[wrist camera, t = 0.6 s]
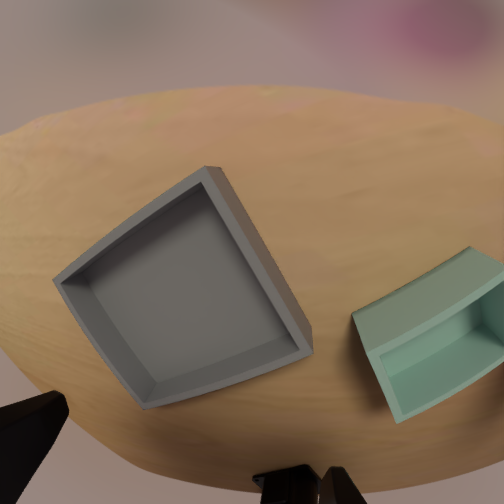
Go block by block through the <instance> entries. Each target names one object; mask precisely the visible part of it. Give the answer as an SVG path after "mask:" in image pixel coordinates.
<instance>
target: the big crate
mask: <svg viewBox="0 0 504 504" xmlns="http://www.w3.org/2000/svg"><path fill="white" fill-rule="evenodd" d="M53 282H54V284H55V286H56V287H57V289H58V291H59V293H60V294H61V296H62V298H63V300H64V301H65V303H66V305H67V306H68V308H69V310H70V311H71V313H72V314H73V316H74V318H75V319H76V321H77V322H78V324H79V326H80V327H81V329H82V330H83V332H84V333H85V335H86V336H87V338H88V339H89V341H90V342H91V343H92V345H93V346H94V348H95V349H96V351H97V352H98V353H99V355H100V356H101V358H102V359H103V360H104V362H105V363H106V364H107V366H108V367H109V368H110V370H111V371H112V372H113V374H114V375H115V376H116V378H117V379H118V380H119V381H120V383H121V384H122V385H123V386H124V388H125V389H126V390H127V391H128V392H129V394H130V395H131V396H132V397H133V398H134V400H135V401H136V402H137V403H138V404H139V405H140V407H141V408H142V409H143V410H146V409H150V408H154V407H158V406H162V405H166V404H170V403H174V402H177V401H181V400H184V399H188V398H191V397H195V396H198V395H202V394H205V393H208V392H211V391H214V390H218V389H221V388H224V387H227V386H230V385H233V384H236V383H239V382H242V381H244V380H247V379H250V378H253V377H256V376H258V375H261V374H264V373H267V372H269V371H272V370H274V369H277V368H280V367H282V366H285V365H287V364H290V363H292V362H295V361H297V360H300V359H302V358H304V357H307V356H309V355H312V354H314V353H313V340H312V328H311V325H310V323H309V322H308V320H307V318H306V316H305V314H304V313H303V311H302V309H301V307H300V305H299V304H298V302H297V300H296V298H295V297H294V295H293V293H292V291H291V289H290V288H289V286H288V284H287V282H286V281H285V279H284V277H283V275H282V273H281V272H280V270H279V268H278V266H277V265H276V263H275V261H274V259H273V258H272V256H271V254H270V252H269V251H268V249H267V247H266V245H265V244H264V242H263V240H262V238H261V237H260V235H259V233H258V231H257V230H256V228H255V226H254V224H253V223H252V221H251V219H250V217H249V216H248V214H247V212H246V210H245V209H244V207H243V205H242V204H241V202H240V200H239V198H238V197H237V195H236V193H235V191H234V190H233V188H232V186H231V185H230V183H229V181H228V179H227V178H226V176H225V174H224V173H223V171H222V169H221V167H213V166H204V167H202V168H200V169H199V170H197V171H196V172H194V173H193V174H191V175H190V176H188V177H187V178H185V179H184V180H182V181H181V182H179V183H178V184H176V185H175V186H173V187H172V188H170V189H169V190H167V191H166V192H164V193H163V194H161V195H160V196H159V197H157V198H156V199H154V200H153V201H151V202H150V203H149V204H147V205H146V206H144V207H143V208H142V209H140V210H139V211H138V212H136V213H135V214H133V215H132V216H131V217H129V218H128V219H127V220H125V221H124V222H123V223H121V224H120V225H119V226H117V227H116V228H115V229H113V230H112V231H111V232H110V233H108V234H107V235H106V236H104V237H103V238H102V239H101V240H99V241H98V242H97V243H96V244H94V245H93V246H92V247H91V248H89V249H88V250H87V251H86V252H84V253H83V254H82V255H81V256H80V257H78V258H77V259H76V260H75V261H74V262H72V263H71V264H70V265H69V266H68V267H67V268H65V269H64V270H63V271H62V272H61V273H60V274H58V275H57V276H56V277H55V278H54V279H53Z"/></svg>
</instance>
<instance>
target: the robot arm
mask: <svg viewBox="0 0 504 504" xmlns="http://www.w3.org/2000/svg"><path fill="white" fill-rule="evenodd" d="M68 415H69V408H68V405H67V402H66V398H65V396H64V395H63V394H62V393H60V392H58V391H56V390H53V391H50V392H47V393H44V394H41V395H38V396H35V397H32V398H29V399H26V400H23V401H20V402H16V403H13V404H10V405H7V406H4V407H0V504H16V502H17V501H18V499H19V497H20V496H21V494H22V492H23V491H24V489H25V488H26V486H27V484H28V483H29V481H30V480H31V478H32V476H33V475H34V473H35V472H36V470H37V469H38V467H39V466H40V464H41V463H42V461H43V460H44V458H45V457H46V455H47V454H48V452H49V450H50V449H51V447H52V446H53V444H54V442H55V441H56V439H57V436H58V435H59V433H60V431H61V429H62V427H63V425H64V423H65V421H66V419H67V417H68ZM252 481H253V482H254V483H256V484H257V485H258V486H259V487H260V488H261V489H262V496H261V502H260V504H318V494H320V495H319V504H367V503H366V501H365V500H364V498H363V496H362V495H361V493H360V492H359V490H358V489H357V487H356V486H355V484H354V483H353V481H352V480H351V478H350V477H349V475H348V473H347V472H346V470H345V469H344V468H343V467H337V466H331V467H330V468H329V469H328V471H327V472H326V474H325V476H324V477H323V479H322V480H321V478H320V477H319V476H318V475H317V474H316V473H315V472H314V471H313V470H312V468H311V467H310V466H309V465H301V466H297V467H293V468H289V469H285V470H280V471H276V472H271V473H266V474H261V475H255V476H253V478H252Z"/></svg>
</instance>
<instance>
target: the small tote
mask: <svg viewBox="0 0 504 504" xmlns="http://www.w3.org/2000/svg"><path fill="white" fill-rule="evenodd" d="M352 316H353V318H354V321H355V324H356V326H357V329H358V332H359V335H360V338H361V340H362V343H363V346H364V349H365V352H366V354H367V357H368V359H369V361H370V363H371V365H372V368H373V370H374V372H375V374H376V377H377V379H378V381H379V383H380V386H381V388H382V390H383V393H384V395H385V397H386V400H387V402H388V404H389V407H390V409H391V412H392V414H393V416H394V419H395V421H396V424H398V423H400V422H402V421H404V420H406V419H408V418H410V417H413V416H415V415H417V414H419V413H421V412H423V411H425V410H426V409H428V408H430V407H432V406H434V405H436V404H438V403H440V402H441V401H443V400H445V399H447V398H449V397H450V396H452V395H454V394H455V393H457V392H459V391H460V390H462V389H464V388H465V387H467V386H469V385H470V384H472V383H473V382H475V381H476V380H478V379H479V378H481V377H482V376H484V375H485V374H487V373H488V372H490V371H491V370H493V369H494V368H496V367H497V366H498V365H500V364H501V363H502V362H504V264H503V263H501V262H499V261H497V260H495V259H493V258H491V257H490V256H488V255H486V254H484V253H482V252H480V251H478V250H476V249H474V248H472V247H470V246H469V247H468V248H466V249H465V250H463V251H461V252H460V253H458V254H457V255H455V256H454V257H452V258H450V259H449V260H447V261H445V262H444V263H442V264H441V265H439V266H437V267H436V268H434V269H432V270H431V271H429V272H427V273H425V274H424V275H422V276H420V277H419V278H417V279H415V280H413V281H412V282H410V283H408V284H406V285H404V286H403V287H401V288H399V289H397V290H395V291H394V292H392V293H390V294H388V295H386V296H384V297H382V298H380V299H379V300H377V301H375V302H373V303H371V304H369V305H367V306H365V307H363V308H361V309H359V310H357V311H355V312H353V313H352Z"/></svg>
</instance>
